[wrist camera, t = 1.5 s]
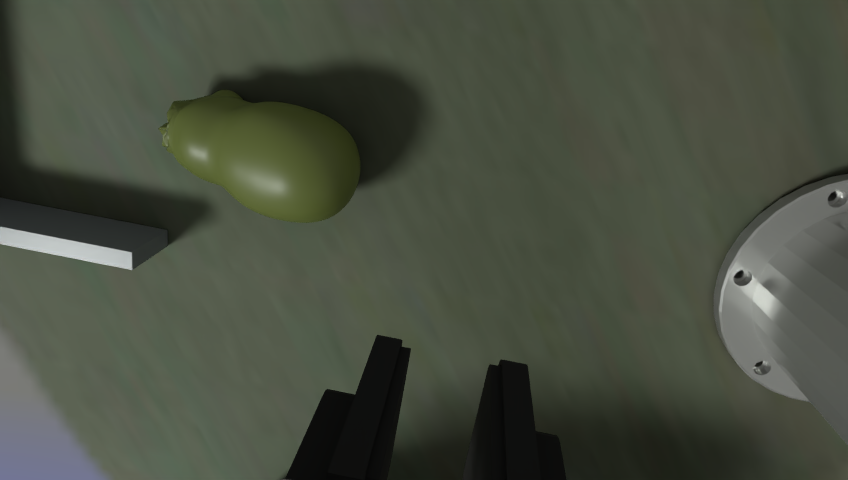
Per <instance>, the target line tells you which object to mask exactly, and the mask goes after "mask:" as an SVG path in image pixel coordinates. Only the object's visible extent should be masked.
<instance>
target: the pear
mask: <svg viewBox="0 0 848 480" xmlns="http://www.w3.org/2000/svg"><path fill="white" fill-rule="evenodd" d="M167 118H168V123H165V124H164V125H163V126H161V127H160V128H161V129H160V128H158V129H159V130H160V132H161V133H162V135H163V142H162V146H164V147H167V151H168V152H169V153H173V154H174V156H175V158H176V159H177V161H178V162H179V163H180V164H181V165H182V166H183V167H185V168H186V169H187V170H188V171H190V172H191V173H193V174H194V175H196V176H197V177H199V178H201V179H203V180H206V181H208V182H211V183H214V184H217V185H220V186H222V187H224V188H225V189H226V190H227V191H228V192H229V193H230V194H231V195H232V196H233V197H234V198H235V199H236V200H237V201H239V202H240V203H241V204H242V205H244V206H245V207H247V208H249V209H251V210H253V211H255V212H257V213H259V214H262V215H264V216H267V217H271V218H274V219H279V220H283V221H290V222H300V223H309V222H317V221H322V220H325V219H328V218H330V217H332V216H334V215H335V214H337V213H338V212H340V211H341V210H342V209H343V208H344V207H345V206H346V205H347V203H348V202H349V201H350V199H351V198H352V196H353V194H354V192H355V190H356V187H357V185H358V181H359V177H360V156H359V152H358V148H357V146H356V143H355V141H354V139H353V138H352V136H351V135H350V134H349V132H348V131H347V130H346V129H345V128H344V127H343V126H342V125H340V124H339V123H338V122H336V121H335V120H333V119H331V118H329V117H328V116H326V115H323V114H321V113H319V112H316V111H313V110H311V109H308V108H304V107H301V106H297V105H293V104H288V103H282V102H259V103H251V102H247V101H244V100H243V99H242V98H241V97H240V96H239V95H238V94H236V93H235V92H233V91H230V90H219V91H217V92H215V93H214V94H212V95H209V96H204V97H201V98H197V99H193V100H186V101H185V100H184V101H174V102H173V103H172V105H171V107H170V109H169V111H168V112H167ZM162 129H165V130H162ZM166 130H168V131H166Z"/></svg>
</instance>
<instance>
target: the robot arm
mask: <svg viewBox="0 0 848 480" xmlns="http://www.w3.org/2000/svg"><path fill="white" fill-rule="evenodd" d="M831 193H832V194H831ZM830 194H831V196H830V197H829V195H830ZM739 271H740V272H739ZM737 272H739V273H738V274H737V275H735V274H736V273H737ZM714 317H715V322H716V326H717V330H718V334H719V336H720V338H721V340H722V342H723V344H724V345H725V347H726V349H727V351H728V352H729V354H730V355H731V356H732V357H733V359H734V360H735V362H736V363H737V364H738V366H739V367H740V368H741V369H742V370H743V371H744V372H745V373H746V374H747V375H748V376H749V377H750V378H752V379H753V380H754V381H756V382H758V383H759V384H761V385H763V386H764V387H766V388H767V389H769V390H771V391H773V392H776V393H778V394H781V395H784V396H786V397H789V398H792V399H797V400H802V401H807V402H811V403H812V405H813V406H814V407H815V408H816V409H817V410H818V411H819V413H820V414H821V415H822V416H823V417H824V418H825V419H826V421H827V422H828V423H829V424H830V425H831V426H832V428H833V429H834V430H835V431H836V432H837V433H838V434H839V436H840V437H841V438H842V439H843V440H844V441H845V443H846V444H847V445H848V174H845V175H839V176H833V177H829V178H826V179H823V180H820V181H817V182H814V183H812V184H809V185H806V186H803V187H802V188H800V189H798V190H796V191H794V192H792V193H790V194H788V195H786V196H784V197H782V198H781V199H779V200H778V201H776V202H775V203H774V204H772V205H771V206H770V207H768V208H767V209H766V210H764V211H763V212H762V213H760V214H759V215H758V216H757V217H756V218H755V219H754V220H753V221H752V222H751V223H750V224H749V225H748V226H747V227H746V228H745V229H744V230H743V231H742V232H741V234H740V235H739V236H738V238H737V239H736V241H735V242H734V244H733V245H732V247H731V248H730V250H729V251H728V252H727V255H726V257H725V259H724V261H723V264H722V266H721V268H720V270H719V273H718V277H717V281H716V286H715V290H714ZM410 351H411V348H406V347H402V340H401V339H396V338H391V337H386V336H381V335H377V336H376V339H375V342H374V344H373V347H372V350H371V353H370V355H369V358H368V361H367V364H366V367H365V369H364V372H363V375H362V378H361V380H360V383H359V386H358V389H357V391H356V394H355V395H354V394H349V393H344V392H339V391H335V390H330V389H327V390H325V392H324V394H323V396H322V398H321V401H320V403H319V405H318V407H317V409H316V412H315V414H314V416H313V418H312V421H311V423H310V425H309V427H308V429H307V432H306V434H305V436H304V438H303V441H302V443H301V445H300V447H299V449H298V452H297V454H296V456H295V458H294V461H293V463H292V465H291V467H290V469H289V472H288V474H287V476H286V478H285V479H282V480H387V476H388V471H389V467H390V462H391V457H392V452H393V446H394V441H395V435H396V430H397V424H398V419H399V413H400V407H401V402H402V396H403V391H404V385H405V380H406V374H407V368H408V363H409V357H410ZM463 480H566V475H565V469H564V464H563V458H562V452H561V447H560V442H559V438H558V437H557V436H556V435H551V434H546V433H541V432H537V431H535V423H534V415H533V406H532V398H531V390H530V381H529V373H528V366H527V365H526V364H522V363H517V362H512V361H507V360H502V359H501V360H500V362H499V365H498V366H496V365H491V364H490V365H489V367H488V371H487V375H486V379H485V383H484V388H483V392H482V396H481V400H480V404H479V408H478V413H477V417H476V421H475V425H474V429H473V433H472V438H471V442H470V446H469V450H468V454H467V458H466V463H465V467H464V473H463Z"/></svg>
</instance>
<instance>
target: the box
mask: <svg viewBox="0 0 848 480" xmlns="http://www.w3.org/2000/svg"><path fill="white" fill-rule="evenodd" d="M0 244H3V245H8V246H13V247H18V248H23V249H29V250H34V251H39V252H44V253H49V254H54V255H59V256H64V257H69V258H74V259H79V260H84V261H89V262H94V263H100V264H105V265H110V266H115V267H120V268H125V269H130V270H133V269H134V268H136V267H137V266H139V265H140V264H142V263H143V262H145V261H146V260H148V259H149V258H151V257H152V256H154V255H155V254H157V253H158V252H160V251H161V250H162V249H164V248H165V247H167V246H168V230H165V229H160V228H155V227H150V226H144V225H139V224H134V223H129V222H124V221H119V220H113V219H108V218H103V217H98V216H93V215H88V214H82V213H77V212H72V211H67V210H62V209H57V208H52V207H46V206H41V205H36V204H31V203H26V202H21V201H15V200H10V199H5V198H0Z"/></svg>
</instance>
